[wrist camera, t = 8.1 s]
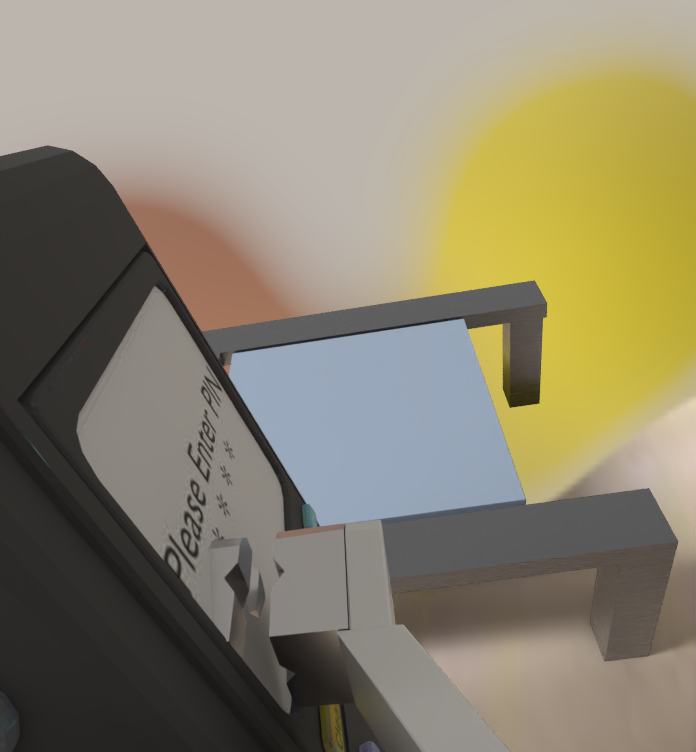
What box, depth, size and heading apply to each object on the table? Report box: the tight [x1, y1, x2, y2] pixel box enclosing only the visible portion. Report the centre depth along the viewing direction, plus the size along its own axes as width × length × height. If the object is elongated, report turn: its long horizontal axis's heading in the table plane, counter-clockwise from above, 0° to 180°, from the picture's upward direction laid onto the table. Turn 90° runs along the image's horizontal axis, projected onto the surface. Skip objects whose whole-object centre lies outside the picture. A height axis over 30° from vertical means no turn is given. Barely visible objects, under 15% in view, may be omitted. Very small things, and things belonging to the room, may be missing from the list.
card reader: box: [0, 146, 385, 752], centre depth 11 cm, size 9×4×15 cm, turn 9°
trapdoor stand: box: [202, 281, 678, 661], centre depth 36 cm, size 24×20×8 cm
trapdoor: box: [229, 319, 526, 526], centre depth 34 cm, size 14×14×1 cm
